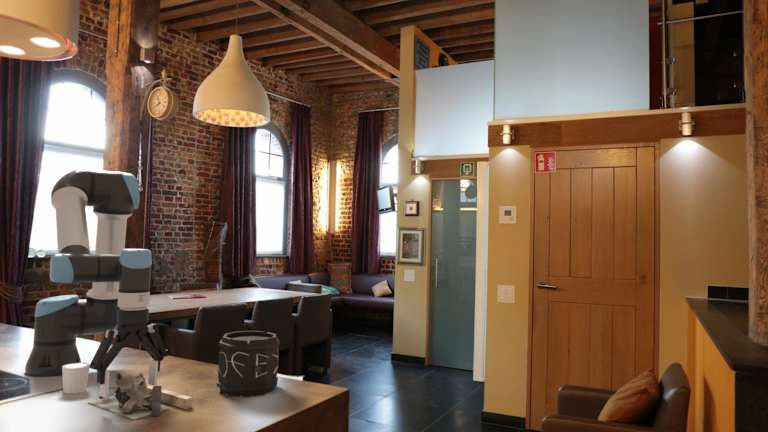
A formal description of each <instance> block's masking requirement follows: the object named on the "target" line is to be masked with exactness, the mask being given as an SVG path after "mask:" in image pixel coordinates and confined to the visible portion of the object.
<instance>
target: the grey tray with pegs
mask: <svg viewBox="0 0 768 432" xmlns="http://www.w3.org/2000/svg"><path fill="white" fill-rule="evenodd" d="M146 385H147V391H146V395H148V394H149V393H150V392H152V411H151V410H150V409H148V408H143V407H141V408H135V409H134V410H133V411H131V412H130V413H129V412H123V410H122V407H121V408H119V402H118V400H117V399H116V397H115V394H114V395H109V396H108V397H107V398H104V397H101V396H99V395H98V399H93V400H89V401H88V402H87V404H89V405H91V406H94V407H97V408H99V409H103V410H106V411H108V412H111V413H114V414H117V415H120V416H123V417H125V418H128V419H131V420H136V419H140V418H144V417H147V416H148V417H149V416H150V415H151V416H150V417H152V418H157V417H160V416H161V412H165V411H168V410H170V408H171V407H168V406H166V405H162V404H161V403H164V404H168V405H171V406H175V407H177V408H181V409H184V410H187V409H190V408H192V406H193V397H192V396H188V395H185V394H182V393H178V392H175V391H171V390H168V389H165V388H162V385H156V386H153V385H149V384H147V383H146Z"/></svg>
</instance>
